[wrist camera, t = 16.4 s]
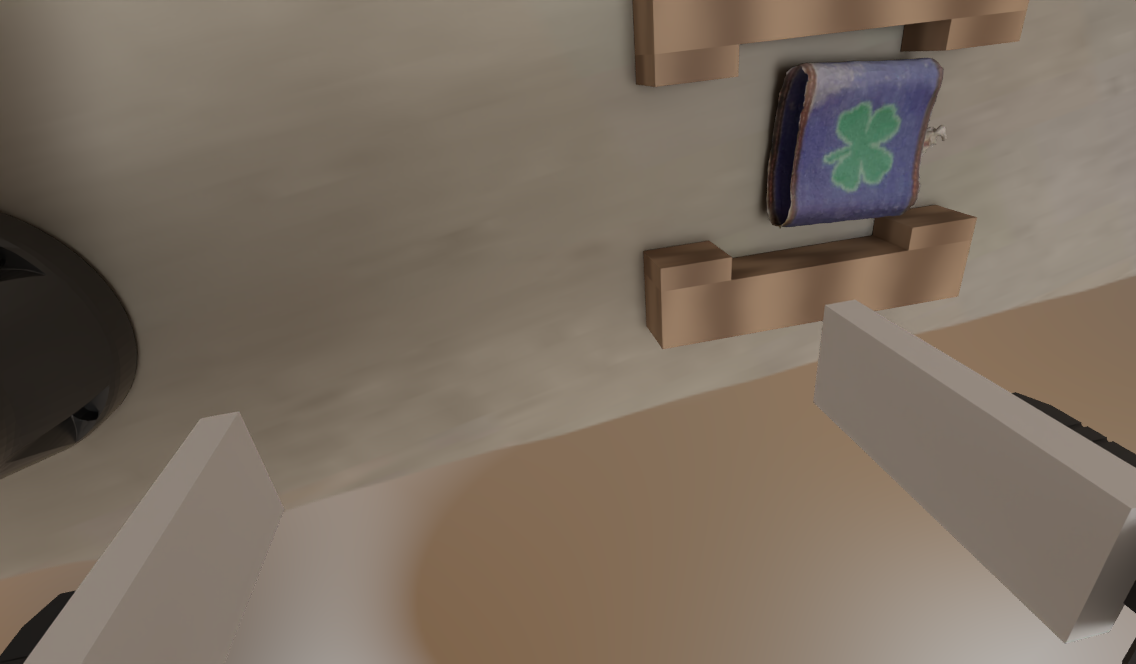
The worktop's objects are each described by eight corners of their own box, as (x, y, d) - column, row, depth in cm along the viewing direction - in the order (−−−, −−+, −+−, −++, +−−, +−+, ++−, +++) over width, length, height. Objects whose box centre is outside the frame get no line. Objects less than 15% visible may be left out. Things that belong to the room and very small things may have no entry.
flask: (809, 63, 29) (977, 55, 31) (778, 64, 32) (935, 56, 34) (786, 233, 33) (936, 216, 35) (760, 222, 36) (901, 207, 38)
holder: (646, 326, 38) (662, 349, 35) (631, -30, 29) (651, -41, 26) (920, 278, 41) (958, 296, 38) (989, -66, 31) (1048, -81, 28)
